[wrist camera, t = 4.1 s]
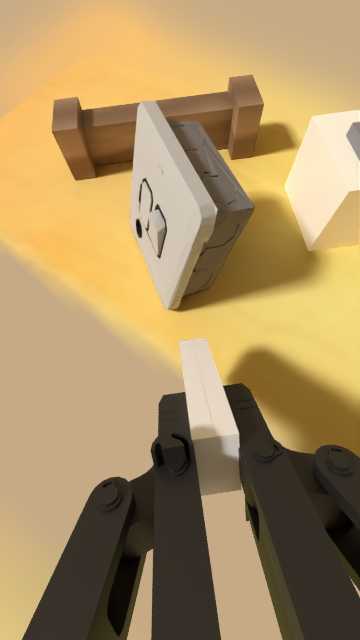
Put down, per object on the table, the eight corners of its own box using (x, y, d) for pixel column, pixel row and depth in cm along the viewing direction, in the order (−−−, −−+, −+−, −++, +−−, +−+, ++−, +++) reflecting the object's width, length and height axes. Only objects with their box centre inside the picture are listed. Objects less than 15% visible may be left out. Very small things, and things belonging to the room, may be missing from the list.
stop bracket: (251, 156, 25) (264, 103, 21) (75, 180, 25) (51, 131, 21) (242, 129, 27) (252, 74, 22) (75, 151, 26) (54, 100, 22)
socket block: (392, 240, 21) (478, 163, 15) (307, 251, 21) (357, 179, 15) (360, 177, 24) (421, 89, 17) (284, 187, 24) (317, 103, 17)
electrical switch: (129, 224, 23) (107, 100, 14) (184, 209, 24) (194, 86, 15) (166, 316, 20) (167, 227, 11) (228, 295, 21) (272, 199, 12)
